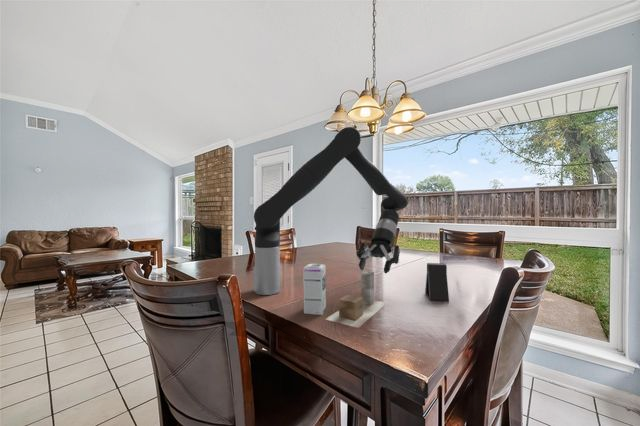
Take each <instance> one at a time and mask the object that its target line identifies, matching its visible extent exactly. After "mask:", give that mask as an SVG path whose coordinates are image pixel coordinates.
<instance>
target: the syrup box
mask: <svg viewBox="0 0 640 426" xmlns="http://www.w3.org/2000/svg"><path fill="white" fill-rule="evenodd" d="M302 270H303V273H302V275H303V276H302V277H303V279H302V280H303V285H302V286H303V313H304V314H305V315H306V314H309V315H318V316H322V315H324V313H325V312H326V309H327V288H326V287H327V282H326V281H327V280H326V278H327V276H326V273H327V272H326V271H327V270H326V264H324V263H308V264H307V265H306V266H304V267H303V269H302Z"/></svg>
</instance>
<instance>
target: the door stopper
mask: <svg viewBox="0 0 640 426" xmlns="http://www.w3.org/2000/svg"><path fill="white" fill-rule="evenodd" d="M447 271H448V269H447V264H446V263H442V262H441V263H439V262H438V263H437V262H436V263H435V262H427V263H426V277H425V289H424V293H425V295H426V297H427V298H428V299H429V300H430V302H431V301H433V302H435V301H436V302H448V301H449V302H450V298H449V297H450V294H449V285H448V275H447V274H448V273H447Z"/></svg>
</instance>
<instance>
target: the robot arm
mask: <svg viewBox="0 0 640 426" xmlns="http://www.w3.org/2000/svg"><path fill="white" fill-rule="evenodd" d="M361 139H362V136H361V133H360V131H359V129H357V128H356V127H353V126H347V127H344V128H342V129H340V130H339V131H338V133H336V134H335V136H334V138H333V139H332V140H331V141H330V143H328V145H327V146H325V147H324V149H323V150H320V152H318V153H317V154H316V155H314V156H312V158H310V159H309V160H308V161H306V162H305V163H304V164H302V166H301V167H300V168H299V169H298V170H297V171H295V173H294V174H293V175H292V176H290V178H289V179H287V181H286V182H285V183H284V185H283V186H282V187H281V188H280V189H279V190H278V191H277V192H276V193H275V194H273V195H272V196H271V197H270V198H269V199H267V200H266V201H264V202H263V203H261V204H260V205H259V206H258V207H256V209H255V210H254V212H253V221H254V223H255V237H254V265H253V268H252V292H254V293H255V294H257V295H259V296H260V295H261V296H270V295H276V294H278V293H280V291H281V288H280V287H281V286H280V283H281V279H280V278H281V269H280V268H281V267H280V266H281V265H280V264H281V259H280V257H281V255H280V253H281V250H280V249H281V246H280V245H281V244H280V243H281V242H280V240H281V219H282V218H283V216H284V215H285V214H286V213H287V212H288V211H289V210H290V208H292V207H293V206H294V205H295V204H296V203H298V202H299V201H300V200H302V199H304V198H305V197H306V196H307V195H309V194H310V193H311V192H312V191H313V190H315V188H316V187H318V186H319V185H320V183H321V182H323V180H324V179H325V178H326V177H327V176H329V174H330V173H331V172H332V170H333V169H334V168H335V167H336V166H337V165H338V164H339V163H340V162H341V161H342V160H343V159H346V160H347V161H348V163H349V164H351V165H352V166H353V168H355V170H357V172H358V173H359V174H360V176H361V177H362V178H363V180H364V181H365V182H366V184H367V185H368V186H369V187H370V189H372V191H373V192H374V193H375V195H377V196H383V195H384V196H386V197H385V198H383V199H382V201H380V216H379V219H378V222H377V223H376V226H375V228H374V231H373V233H372V234H373V235H372V237H371V241H370V243H369V244H365V242H362V243H361V244H360V247H359V249H358V251H357V253H356V256H357V258H358V260H360V261H359V264H358V267H359V269H360V271H364V269H365V266H366V263H367V261H368V260H370V259H372V258H380V259H382V258H385V264H384V267H383V272H384V274H388V273H389V272H390V271H391V268H392V265H393V264H395V265H397V264H398V263H399V260H400V259H399V258H400V253H401V250H400V246H399V245H395V246H393V245H394V244H393V243H394V239H395V237H396V235H397V233H396V232H397V227H398V224H399V219H400V215H399V213H398V212H399V211H402V210H404V209H405V208H407V206H408V204H409V203H408V202H409V201H408V197H407V196H406V194H404V192H402V190H400V189H399V188H398V187H397V186H395V185H393V183H391V182H390V181H389V180H388V178H387V177H386V175H384V173H383V172H382V171H381V170H380V169H379V167H377V166H376V165H375V164H374V163H373V162H372V161H370V160H369V159H368V158H367V157H366V156H365V155H364V154H363V152H362V151H361V149H360V148H359V147H360V144H361V141H362V140H361ZM391 252H392V253H393V256H392V257H390V253H391Z"/></svg>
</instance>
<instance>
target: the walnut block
mask: <svg viewBox="0 0 640 426" xmlns="http://www.w3.org/2000/svg"><path fill="white" fill-rule="evenodd" d="M338 302H339V303H338V311H339V317H341V318H345V319H349V320H353V321H356V320H357V319H358V318H360V317H361V316H362V315H363V298H362V297H361V296H356V295H351V294H346V295H344V296H342V297H341V298H339V300H338Z"/></svg>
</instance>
